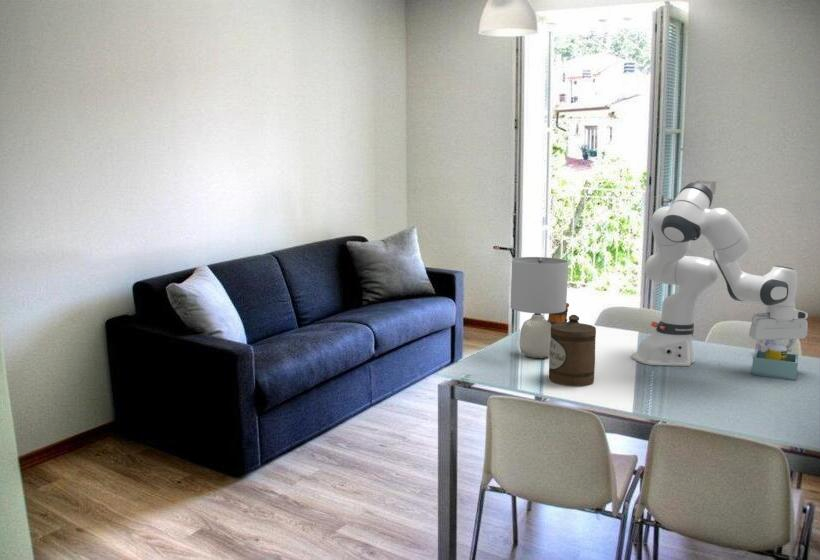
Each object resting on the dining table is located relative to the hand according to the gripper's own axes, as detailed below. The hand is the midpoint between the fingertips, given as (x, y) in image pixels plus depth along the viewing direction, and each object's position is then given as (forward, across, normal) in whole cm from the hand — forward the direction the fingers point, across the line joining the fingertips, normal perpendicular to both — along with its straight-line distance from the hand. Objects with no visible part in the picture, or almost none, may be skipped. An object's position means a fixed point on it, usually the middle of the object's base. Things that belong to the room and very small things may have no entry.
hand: (776, 351), depth 250 cm
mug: (+8, -51, +73) cm, 89 cm away
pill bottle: (+7, 0, 0) cm, 7 cm away
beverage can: (+8, +11, +21) cm, 25 cm away
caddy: (+8, 0, 0) cm, 8 cm away
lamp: (+8, -76, +32) cm, 83 cm away
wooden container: (+8, -75, +1) cm, 75 cm away
